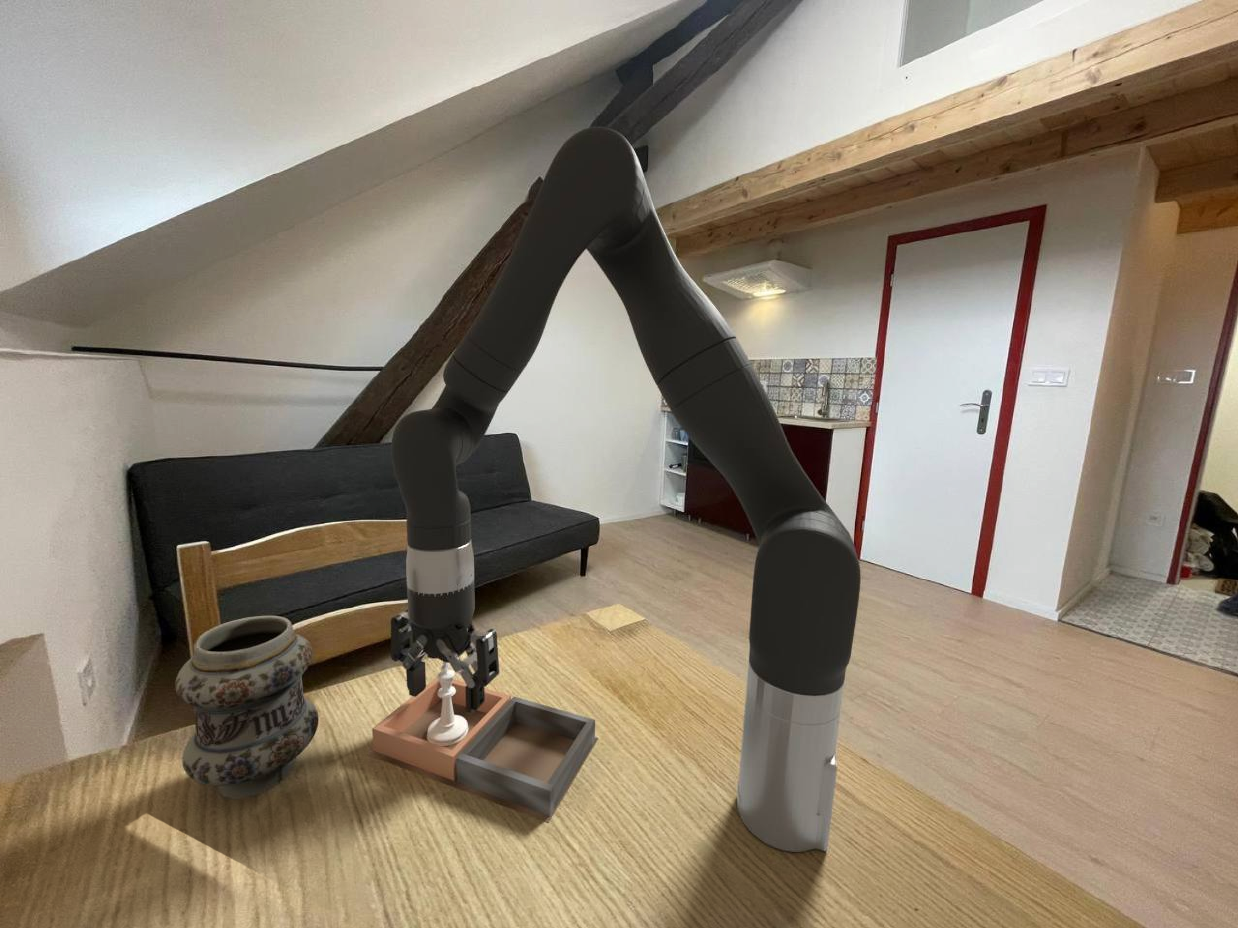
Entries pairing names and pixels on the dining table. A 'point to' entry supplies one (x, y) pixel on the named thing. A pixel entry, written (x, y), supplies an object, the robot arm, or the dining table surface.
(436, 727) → the chess piece
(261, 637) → the apothecary jar
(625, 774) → the dining table surface
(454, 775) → the orange square tray
